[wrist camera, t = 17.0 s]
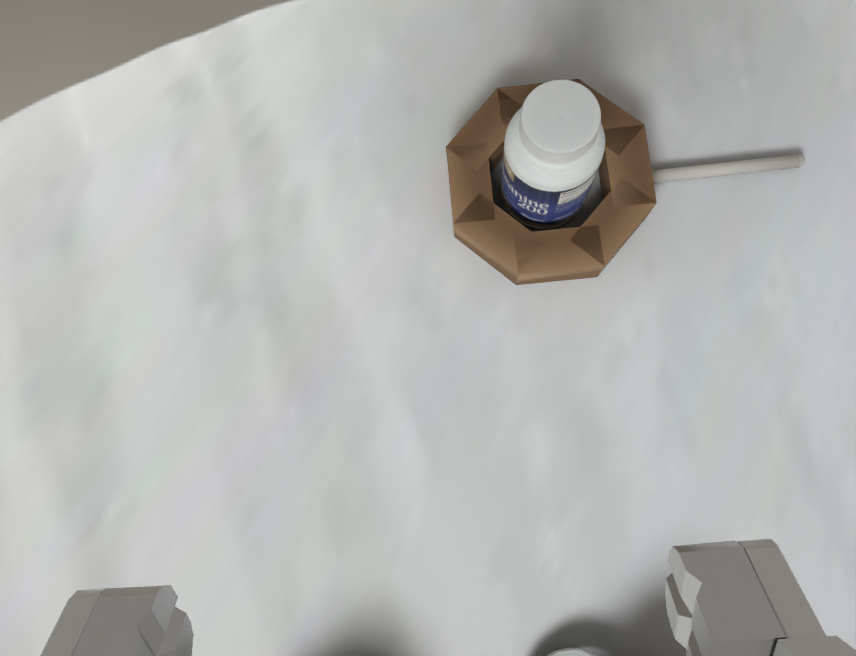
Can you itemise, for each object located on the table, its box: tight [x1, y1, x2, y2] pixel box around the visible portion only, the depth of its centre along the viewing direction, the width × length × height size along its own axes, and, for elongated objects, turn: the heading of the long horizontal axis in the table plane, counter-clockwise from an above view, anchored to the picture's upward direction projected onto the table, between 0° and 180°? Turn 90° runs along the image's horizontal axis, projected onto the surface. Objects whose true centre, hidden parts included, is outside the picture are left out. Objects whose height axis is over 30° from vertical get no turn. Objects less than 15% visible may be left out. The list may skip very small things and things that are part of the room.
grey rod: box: [651, 154, 805, 183], centre depth 42 cm, size 10×1×1 cm, turn 95°
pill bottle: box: [501, 80, 605, 229], centre depth 38 cm, size 5×5×10 cm
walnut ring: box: [446, 79, 656, 285], centre depth 42 cm, size 12×12×2 cm
